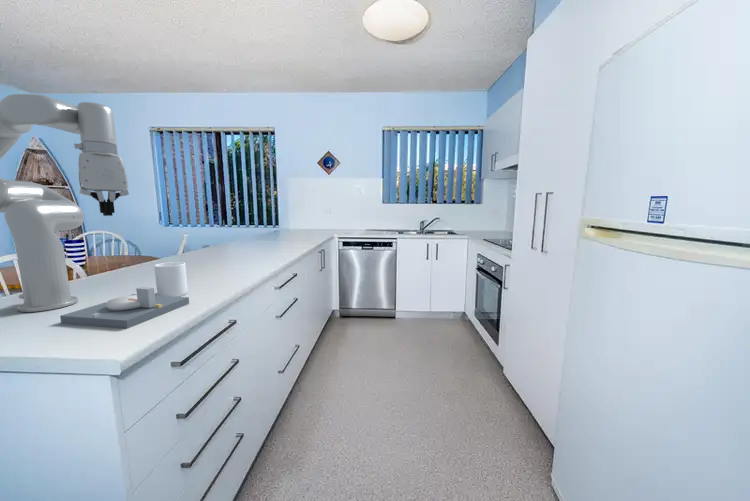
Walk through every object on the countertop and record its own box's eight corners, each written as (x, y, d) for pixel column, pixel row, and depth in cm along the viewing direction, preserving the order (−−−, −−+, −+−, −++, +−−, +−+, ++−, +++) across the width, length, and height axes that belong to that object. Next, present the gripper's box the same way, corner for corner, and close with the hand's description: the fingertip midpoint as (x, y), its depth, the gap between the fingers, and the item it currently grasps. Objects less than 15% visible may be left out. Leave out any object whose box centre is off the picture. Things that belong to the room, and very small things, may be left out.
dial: (97, 308, 83) (94, 290, 82) (134, 298, 93) (132, 281, 92) (134, 312, 80) (132, 293, 79) (168, 301, 90) (167, 284, 89)
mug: (176, 289, 112) (173, 260, 111) (192, 294, 105) (190, 263, 104) (148, 294, 105) (145, 263, 104) (164, 300, 98) (161, 267, 97)
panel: (61, 323, 79) (59, 312, 79) (133, 300, 98) (132, 291, 98) (127, 328, 76) (126, 317, 75) (189, 303, 95) (188, 294, 95)
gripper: (64, 144, 79) (74, 216, 82) (136, 152, 91) (142, 215, 93) (61, 148, 84) (70, 216, 87) (129, 155, 95) (135, 215, 98)
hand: (107, 215), depth 90 cm, fingers closed
